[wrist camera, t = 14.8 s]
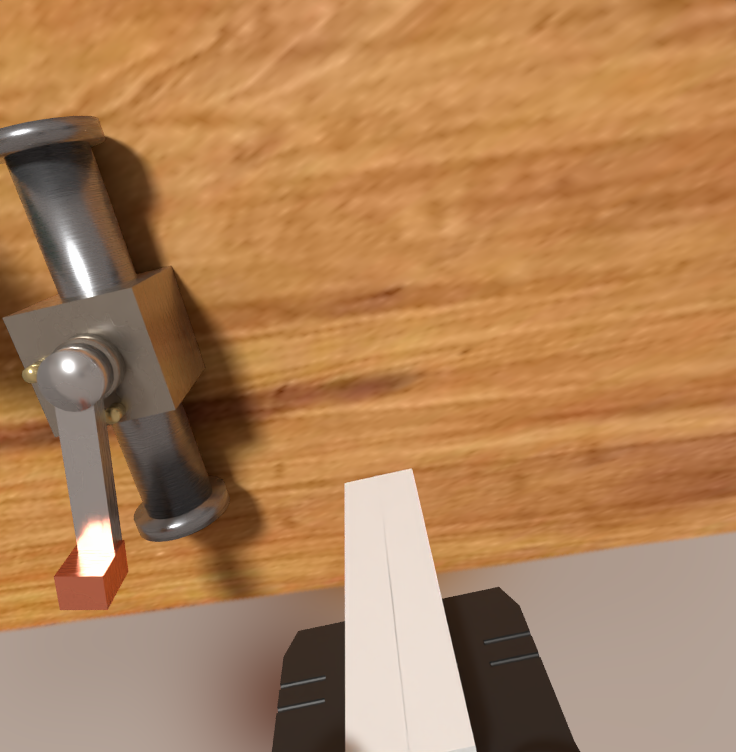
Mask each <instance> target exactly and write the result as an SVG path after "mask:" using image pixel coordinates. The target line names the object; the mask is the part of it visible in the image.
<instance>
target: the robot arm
mask: <svg viewBox="0 0 736 752" xmlns="http://www.w3.org/2000/svg"><path fill="white" fill-rule="evenodd" d="M280 685H281V690H280V691H279V699H278V707H277V708H278V713H277V715H276V723H275V731H274V739H273V747H272V752H580V751H579V749H578V747H577V745H576V743H575V742H574V739H573V737H572V734H571V732H570V729H569V727H568V725H567V722H566V720H565V717H564V715H563V712H562V710H561V707H560V705H559V702H558V700H557V697H556V695H555V692H554V690H553V687H552V685H551V683H550V680H549V677H548V675H547V673H546V670H545V668H544V665H543V663H542V660H541V658H540V657H539V654H538V650H537V648H536V645H535V643H534V640H533V638H532V636H531V634H530V631H529V628H528V626H527V623H526V621H525V618H524V616H523V613H522V611H521V608H520V606H519V605H518V604H517V603H516V602H515V601H514V600H513V599H512V598H511V597H509V596H508V595H507V594H506V593H505V592H504V591H503V590H502V589H501V588H500V587H496V588H492V589H487V590H482V591H477V592H472V593H468V594H463V595H458V596H453V597H448V598H444V599H442V598H441V594H440V590H439V585H438V580H437V576H436V571H435V567H434V563H433V558H432V554H431V550H430V545H429V541H428V536H427V532H426V528H425V523H424V519H423V515H422V510H421V506H420V502H419V497H418V493H417V488H416V484H415V480H414V475H413V471H412V469H407V470H403V471H398V472H394V473H389V474H384V475H380V476H375V477H371V478H366V479H362V480H357V481H352V482H348V483H345V621H344V622H340V623H335V624H330V625H325V626H320V627H315V628H311V629H306V630H301V631H298V633H297V634H296V636H295V638H294V640H293V642H292V643H291V645H290V647H289V648H288V650H287V652H286V654H285V655H284V659H283V667H282V675H281V683H280Z"/></svg>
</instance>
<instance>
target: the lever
mask: <svg viewBox="0 0 736 752" xmlns="http://www.w3.org/2000/svg"><path fill="white" fill-rule="evenodd" d="M113 380H114V371H113V367H112V364H111V362H110V360H109V359H108V357H107V356H106V355H105V354H104V353H103V352H102V351H101V350H99V349H98V348H96V347H94V346H92V345H89V344H85V343H72V344H68V345H66V346H64V347H62V348H61V349H59V350H57V351H56V352H54V353H53V354H51V355H49V356H48V357H46V358H45V359H44V360H43V361H42V363H41V364H40V366H39V368H38V371H37V384H38V387H39V390H40V392H41V393H42V395H43V396H44V398H45V399H46V400H47V401H48V402H49V403H51V404H52V405H54V406H55V412H56V418H57V424H58V430H59V436H60V442H61V448H62V454H63V461H64V467H65V473H66V479H67V485H68V491H69V497H70V504H71V510H72V516H73V522H74V528H75V534H76V540H77V545H76V547H75V548H74V549H73V551H72V552H71V554H70V555H69V556H68V558H67V559H66V561H65V562H64V563H63V565H62V566H61V567H60V569H59V570H58V572H57V573H56V574H55V576H54V580H55V585H56V591H57V596H58V602H59V607H60V610H108V608H109V606H110V604H111V603H112V601H113V599H114V597H115V595H116V593H117V591H118V590H119V588H120V586H121V584H122V582H123V580H124V578H125V577H126V575H127V573H128V565H127V558H126V550H125V543H124V540H122V536H121V528H120V521H119V513H118V506H117V498H116V491H115V483H114V476H113V468H112V461H111V453H110V446H109V438H108V431H107V423H106V416H105V409H104V401H103V396H104V395H105V394H106V393H107V392H108V391H109V390H110V388H111V386H112V384H113Z"/></svg>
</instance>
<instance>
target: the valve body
mask: <svg viewBox="0 0 736 752" xmlns="http://www.w3.org/2000/svg"><path fill="white" fill-rule="evenodd" d="M105 140H106V139H105V136H104V133H103V130H102V127H101V125H100V122H99V119H98V118H96V117H92V116H69V117H59V118H50V119H43V120H37V121H32V122H26V123H21V124H17V125H12V126H8V127H4V128H1V129H0V164H1V163H6V165H7V167H8V170H9V172H10V175H11V177H12V180H13V182H14V185H15V187H16V190H17V192H18V195H19V197H20V199H21V202H22V204H23V207H24V209H25V212H26V214H27V217H28V219H29V222H30V224H31V227H32V229H33V232H34V234H35V237H36V239H37V242H38V244H39V247H40V249H41V251H42V254H43V256H44V259H45V261H46V264H47V266H48V269H49V271H50V274H51V276H52V279H53V281H54V284H55V286H56V289H57V291H58V294H57V295H55V296H52V297H50V298H48V299H45V300H43V301H41V302H38V303H36V304H34V305H31V306H29V307H27V308H24V309H22V310H20V311H17V312H15V313H13V314H10V315H8V316H6V317H3V320H4V323H5V325H6V327H7V330H8V332H9V334H10V336H11V339H12V341H13V343H14V345H15V348H16V350H17V352H18V354H19V357H20V359H21V361H22V363H23V366H24V368H25V369H24V370H23V372H22V377H23V379H24V380H25V381H26V382H27V383H31V384H32V386H33V388H34V391H35V393H36V395H37V397H38V400H39V402H40V404H41V406H42V409H43V411H44V413H45V415H46V418H47V420H48V422H49V424H50V427H51V429H52V431H53V434H54V436H55V437H57V436H59V430H58V424H57V418H56V412H55V406H54V405H52V404H51V403H49V402H48V401H47V400H46V399H45V398H44V396H43V395H42V393H41V392H40V390H39V387H38V384H37V371H38V368H39V366H40V364H41V363H42V361H43V360H44V359H45V358H46V357H48V356H49V355H51V354H53V353H54V352H56V351H57V350H59V349H61V348H62V347H64V346H66V345H68V344H72V343H85V344H89V345H92V346H94V347H96V348H98V349H99V350H101V351H102V352H103V353H104V354H105V355H106V356H107V357H108V359H109V360H110V362H111V364H112V367H113V371H114V380H113V384H112V386H111V388H110V390H109V391H108V392H107V393H106V394H105V395H104V396H103V401H104V409H105V416H106V423H107V425H112V427H113V430H114V432H115V435H116V437H117V440H118V442H119V444H120V447H121V449H122V452H123V454H124V457H125V459H126V462H127V464H128V467H129V469H130V472H131V474H132V477H133V479H134V482H135V484H136V487H137V489H138V492H139V494H140V496H141V499H142V501H143V502H142V503H141V504H140V505H139V507H138V508H137V509H136V511H135V514H134V521H135V523H136V526H137V528H138V531H139V533H140V535H141V536H142V537H143V538H144V539H146V540H149V541H155V542H162V541H170V540H175V539H179V538H182V537H185V536H188V535H190V534H193V533H195V532H197V531H199V530H201V529H203V528H205V527H206V526H208V525H210V524H211V523H212V522H214V521H215V520H216V519H218V518H219V517H220V516H221V515H222V514H223V513H224V511H225V510H226V509H227V507H228V505H229V502H230V497H229V494H228V491H227V488H226V485H225V482H224V481H223V480H222V479H221V478H218V477H215V476H208V474H207V472H206V469H205V466H204V463H203V460H202V457H201V455H200V452H199V449H198V446H197V443H196V441H195V438H194V435H193V432H192V429H191V427H190V424H189V421H188V418H187V415H186V412H185V410H184V407H183V404H182V400H183V399H184V397H185V396H186V394H187V393H188V392H189V390H190V389H191V387H192V386H193V385H194V383H195V382H196V380H197V379H198V378H199V376H200V375H201V373H202V372H203V370H204V369H205V365H204V362H203V359H202V356H201V353H200V350H199V347H198V344H197V341H196V338H195V335H194V332H193V329H192V326H191V323H190V320H189V317H188V314H187V311H186V308H185V305H184V302H183V299H182V296H181V294H180V291H179V288H178V285H177V282H176V279H175V276H174V273H173V270H172V267H171V266H169V267H165V268H160V269H156V270H152V271H148V272H143V273H139V274H136V272H135V269H134V266H133V264H132V261H131V258H130V255H129V252H128V249H127V247H126V244H125V241H124V238H123V235H122V233H121V230H120V227H119V224H118V221H117V219H116V216H115V213H114V210H113V207H112V204H111V202H110V199H109V196H108V193H107V190H106V188H105V185H104V182H103V179H102V176H101V174H100V171H99V168H98V165H97V162H96V159H95V157H94V154H93V151H92V148H91V147H93V146H95V145H98V144H100V143H102V142H104V141H105Z"/></svg>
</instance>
